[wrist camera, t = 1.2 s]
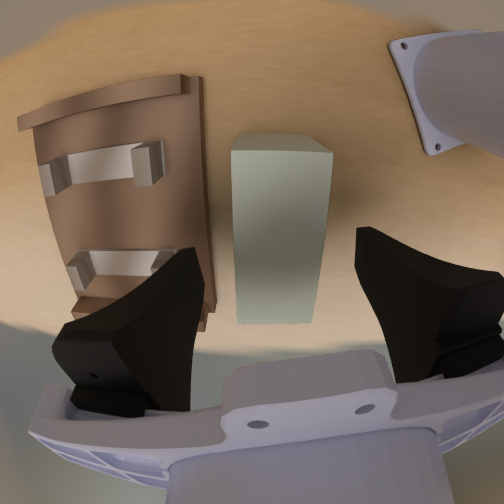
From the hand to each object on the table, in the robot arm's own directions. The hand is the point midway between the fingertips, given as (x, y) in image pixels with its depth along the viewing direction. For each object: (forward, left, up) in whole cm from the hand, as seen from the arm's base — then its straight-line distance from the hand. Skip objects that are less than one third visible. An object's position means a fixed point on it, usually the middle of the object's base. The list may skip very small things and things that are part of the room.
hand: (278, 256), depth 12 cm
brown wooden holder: (+9, -5, -6) cm, 12 cm away
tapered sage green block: (0, 0, -6) cm, 6 cm away
